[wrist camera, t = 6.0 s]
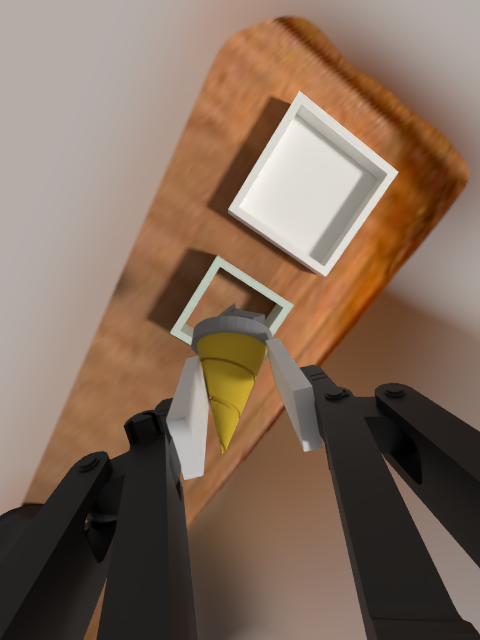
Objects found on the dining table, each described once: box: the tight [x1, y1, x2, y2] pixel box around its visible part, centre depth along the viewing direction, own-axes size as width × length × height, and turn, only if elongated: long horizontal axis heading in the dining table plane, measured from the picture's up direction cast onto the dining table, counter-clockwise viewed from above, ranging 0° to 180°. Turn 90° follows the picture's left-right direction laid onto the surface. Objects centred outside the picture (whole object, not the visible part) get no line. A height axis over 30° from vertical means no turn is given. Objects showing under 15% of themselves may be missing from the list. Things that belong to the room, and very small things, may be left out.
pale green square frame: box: [170, 256, 294, 345], centre depth 32 cm, size 10×10×4 cm
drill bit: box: [191, 303, 273, 453], centre depth 18 cm, size 5×5×10 cm
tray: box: [228, 91, 398, 277], centre depth 30 cm, size 13×13×2 cm
